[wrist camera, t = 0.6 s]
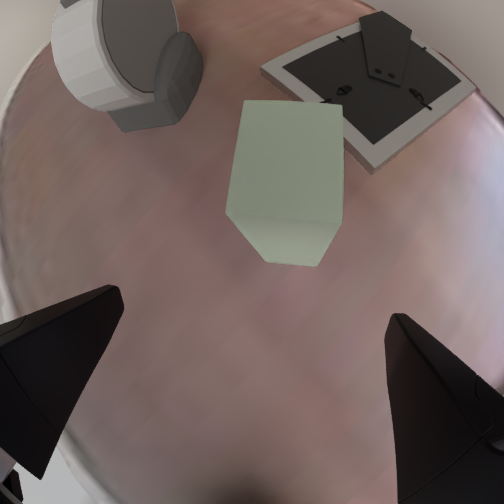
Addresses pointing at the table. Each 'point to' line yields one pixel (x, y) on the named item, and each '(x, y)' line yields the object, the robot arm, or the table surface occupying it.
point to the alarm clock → (127, 59)
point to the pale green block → (288, 179)
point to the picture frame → (373, 84)
